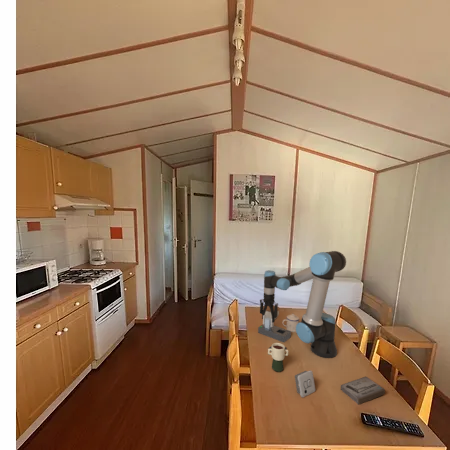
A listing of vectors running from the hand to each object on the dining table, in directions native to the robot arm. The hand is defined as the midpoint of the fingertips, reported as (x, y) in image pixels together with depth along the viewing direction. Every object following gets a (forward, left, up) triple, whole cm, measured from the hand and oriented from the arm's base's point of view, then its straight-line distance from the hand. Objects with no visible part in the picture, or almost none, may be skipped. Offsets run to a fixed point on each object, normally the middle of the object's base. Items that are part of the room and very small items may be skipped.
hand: (268, 325), depth 181 cm
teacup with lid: (-10, -15, -6) cm, 19 cm away
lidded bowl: (+10, -22, -6) cm, 25 cm away
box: (-65, +22, -6) cm, 68 cm away
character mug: (-25, +33, -6) cm, 42 cm away
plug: (0, 0, -5) cm, 5 cm away
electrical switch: (-43, +40, -6) cm, 59 cm away
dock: (-16, +16, -5) cm, 23 cm away
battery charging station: (-5, 0, -5) cm, 7 cm away
